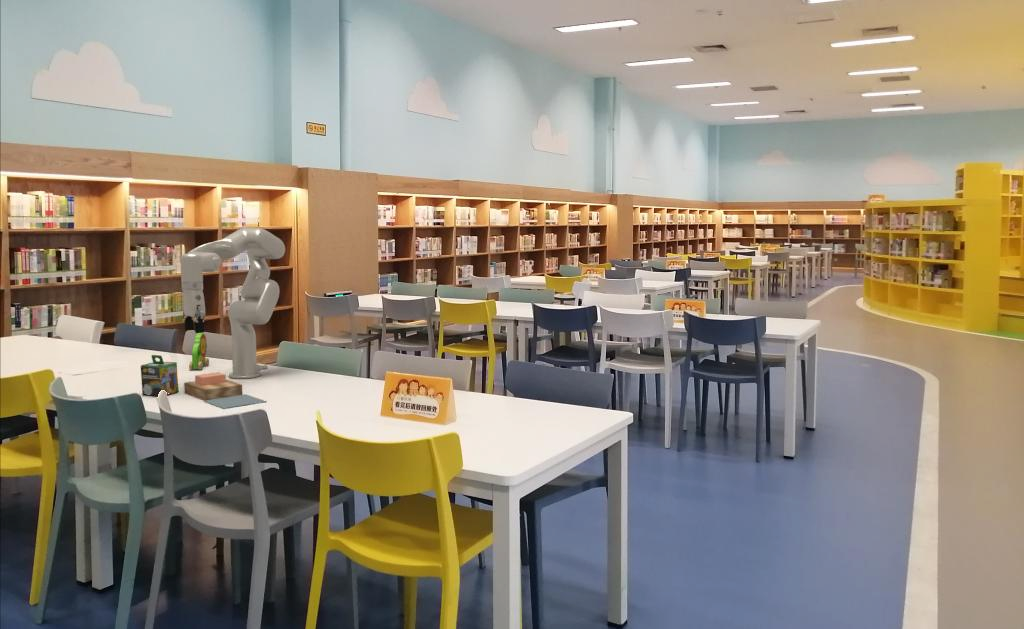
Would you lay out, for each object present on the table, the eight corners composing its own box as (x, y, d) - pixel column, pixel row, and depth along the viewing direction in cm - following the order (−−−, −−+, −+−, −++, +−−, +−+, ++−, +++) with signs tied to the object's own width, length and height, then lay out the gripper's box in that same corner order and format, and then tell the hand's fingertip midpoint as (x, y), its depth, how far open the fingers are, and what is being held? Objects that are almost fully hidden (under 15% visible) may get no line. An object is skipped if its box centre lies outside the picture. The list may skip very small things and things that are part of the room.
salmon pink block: (218, 380, 303) (218, 372, 302) (225, 382, 298) (225, 374, 298) (195, 383, 296) (195, 375, 296) (202, 385, 292) (202, 377, 292)
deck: (220, 387, 308) (220, 377, 307) (242, 395, 295) (242, 384, 295) (184, 393, 298) (184, 382, 297) (205, 400, 285) (205, 389, 285)
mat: (245, 395, 295) (245, 394, 295) (266, 402, 284) (266, 401, 284) (203, 401, 284) (203, 400, 284) (223, 409, 273) (223, 408, 273)
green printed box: (179, 392, 299) (177, 353, 298) (161, 397, 291) (159, 357, 289) (159, 390, 302) (157, 352, 301) (141, 395, 294) (139, 355, 292)
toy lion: (201, 370, 343) (200, 336, 341) (188, 371, 342) (187, 336, 341) (211, 364, 359) (210, 331, 357) (198, 364, 358) (197, 331, 356)
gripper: (211, 287, 296) (213, 333, 298) (193, 284, 308) (195, 328, 310) (191, 288, 291) (193, 334, 293) (173, 285, 303) (175, 330, 305)
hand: (194, 331), depth 301 cm, fingers open, 9 cm apart
